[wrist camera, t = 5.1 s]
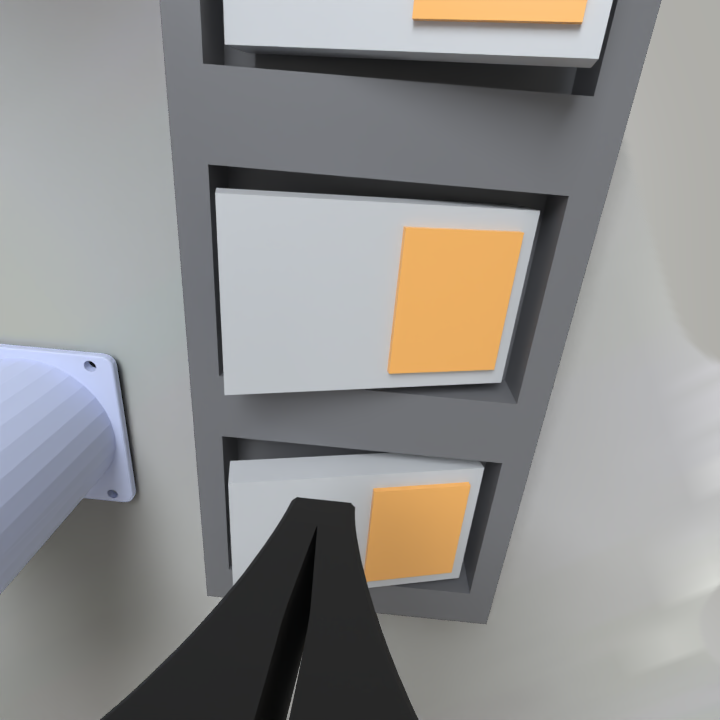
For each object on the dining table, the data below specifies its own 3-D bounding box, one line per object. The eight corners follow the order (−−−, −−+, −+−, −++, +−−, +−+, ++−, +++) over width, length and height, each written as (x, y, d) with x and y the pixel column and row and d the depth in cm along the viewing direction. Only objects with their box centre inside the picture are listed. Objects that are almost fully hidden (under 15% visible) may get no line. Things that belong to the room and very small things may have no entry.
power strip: (237, 520, 24) (207, 595, 20) (206, -273, 13) (122, -467, 9) (469, 543, 24) (486, 624, 20) (653, -240, 13) (780, -423, 9)
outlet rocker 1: (225, 376, 15) (224, 398, 14) (216, 188, 13) (214, 194, 11) (484, 366, 17) (504, 385, 16) (518, 204, 15) (544, 212, 14)
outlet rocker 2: (235, 576, 19) (233, 607, 18) (230, 461, 16) (228, 487, 15) (448, 555, 21) (460, 581, 19) (471, 448, 18) (486, 471, 17)
